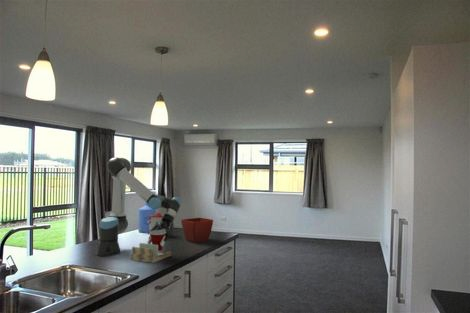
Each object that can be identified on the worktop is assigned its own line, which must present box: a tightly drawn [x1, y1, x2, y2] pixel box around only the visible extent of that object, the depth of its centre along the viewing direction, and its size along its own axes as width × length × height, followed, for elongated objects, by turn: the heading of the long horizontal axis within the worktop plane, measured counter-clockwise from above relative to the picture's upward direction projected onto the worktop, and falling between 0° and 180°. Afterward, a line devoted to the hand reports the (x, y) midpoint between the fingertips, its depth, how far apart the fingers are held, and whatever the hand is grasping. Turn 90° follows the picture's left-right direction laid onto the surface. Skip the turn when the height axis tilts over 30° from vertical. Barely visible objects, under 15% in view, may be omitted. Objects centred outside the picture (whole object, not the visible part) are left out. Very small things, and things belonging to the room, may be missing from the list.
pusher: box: [138, 242, 159, 257], centre depth 219 cm, size 14×1×8 cm, turn 67°
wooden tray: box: [130, 246, 172, 264], centre depth 221 cm, size 17×19×8 cm
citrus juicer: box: [147, 212, 166, 231], centre depth 296 cm, size 16×17×20 cm
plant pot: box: [180, 217, 214, 244], centre depth 276 cm, size 19×19×17 cm
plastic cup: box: [149, 230, 166, 252], centre depth 225 cm, size 11×11×12 cm
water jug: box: [137, 201, 157, 234], centre depth 317 cm, size 16×16×28 cm
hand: (154, 244), depth 222 cm, fingers closed on plastic cup, 9 cm apart
